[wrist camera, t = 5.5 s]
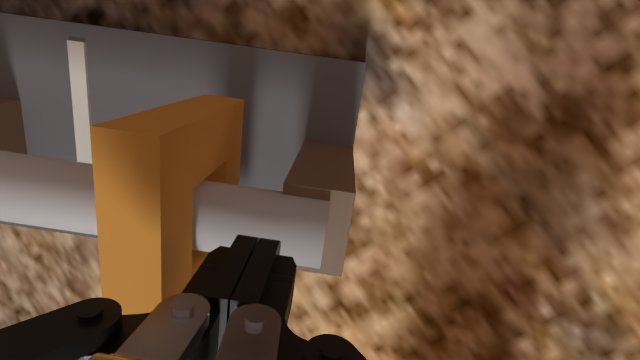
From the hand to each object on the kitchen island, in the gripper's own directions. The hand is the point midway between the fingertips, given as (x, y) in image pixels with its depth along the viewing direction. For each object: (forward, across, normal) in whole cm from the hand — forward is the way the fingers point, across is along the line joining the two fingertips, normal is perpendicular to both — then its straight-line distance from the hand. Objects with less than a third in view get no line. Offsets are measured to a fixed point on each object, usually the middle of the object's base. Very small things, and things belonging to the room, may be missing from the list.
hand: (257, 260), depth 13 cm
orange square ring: (+8, +4, 0) cm, 8 cm away
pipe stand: (+13, +9, 0) cm, 16 cm away
